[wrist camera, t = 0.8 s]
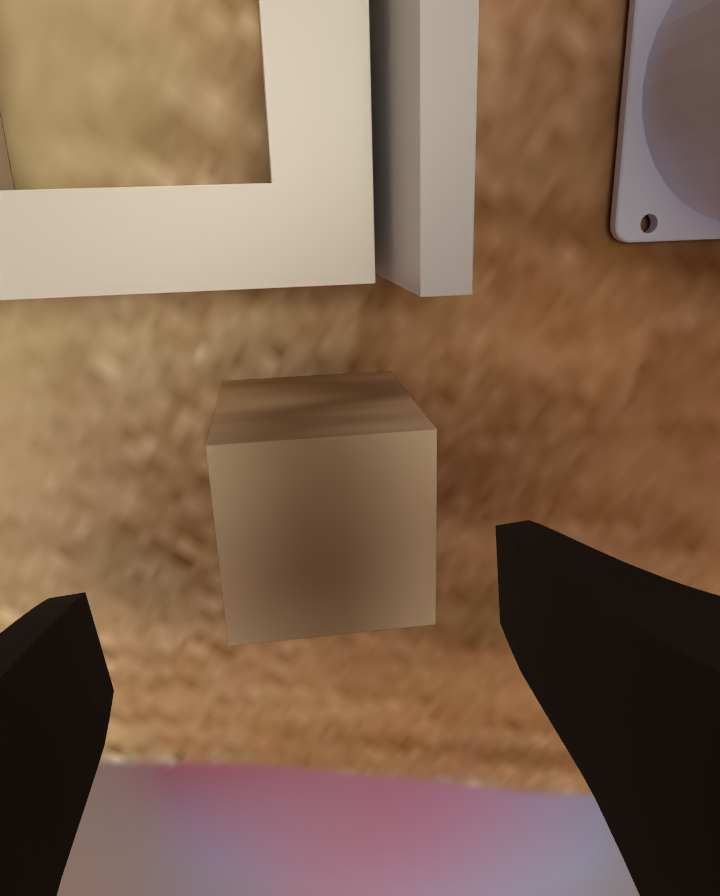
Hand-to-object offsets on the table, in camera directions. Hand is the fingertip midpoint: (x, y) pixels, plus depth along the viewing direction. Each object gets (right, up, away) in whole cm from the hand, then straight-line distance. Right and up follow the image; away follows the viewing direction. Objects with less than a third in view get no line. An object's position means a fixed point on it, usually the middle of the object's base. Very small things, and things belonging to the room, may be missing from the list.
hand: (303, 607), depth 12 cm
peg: (0, +3, +9) cm, 10 cm away
